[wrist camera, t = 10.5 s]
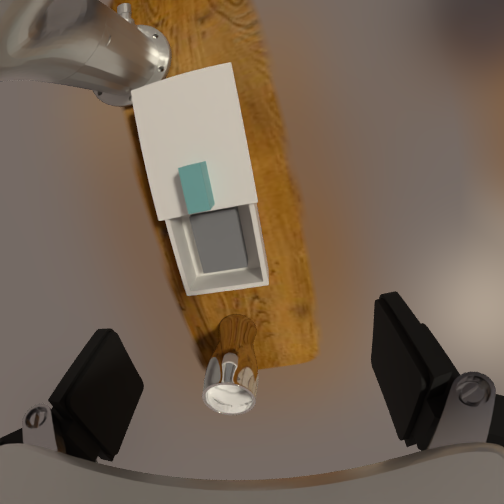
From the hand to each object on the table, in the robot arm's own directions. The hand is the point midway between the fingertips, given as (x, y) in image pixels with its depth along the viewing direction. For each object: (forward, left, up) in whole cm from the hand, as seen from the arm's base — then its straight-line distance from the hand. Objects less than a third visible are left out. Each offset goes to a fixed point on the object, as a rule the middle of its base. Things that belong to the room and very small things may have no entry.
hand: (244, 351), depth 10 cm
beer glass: (+21, -7, -31) cm, 38 cm away
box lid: (-8, -6, -25) cm, 27 cm away
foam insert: (+5, -6, -30) cm, 31 cm away
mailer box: (+3, -6, -30) cm, 31 cm away
